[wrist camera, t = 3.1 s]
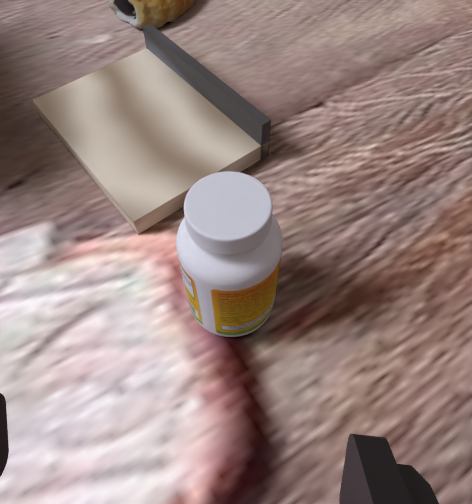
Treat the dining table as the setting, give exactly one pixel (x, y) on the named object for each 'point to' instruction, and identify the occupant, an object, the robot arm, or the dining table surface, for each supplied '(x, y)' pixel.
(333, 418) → the dining table surface
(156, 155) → the shelf board
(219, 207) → the supplement bottle
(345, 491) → the robot arm
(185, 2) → the pastry
